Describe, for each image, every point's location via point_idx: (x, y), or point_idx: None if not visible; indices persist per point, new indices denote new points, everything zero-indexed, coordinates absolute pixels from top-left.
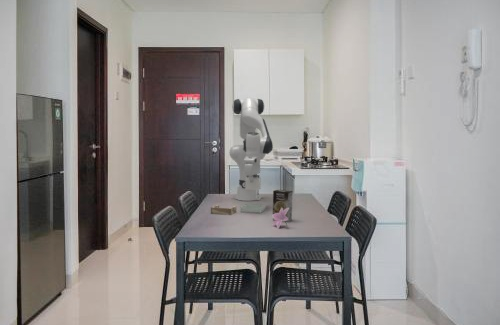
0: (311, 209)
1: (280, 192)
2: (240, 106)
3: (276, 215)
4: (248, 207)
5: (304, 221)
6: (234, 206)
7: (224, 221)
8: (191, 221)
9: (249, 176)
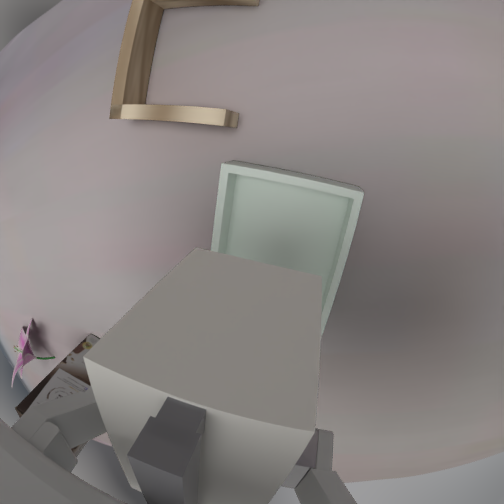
0: (342, 467)
1: None
2: None
3: (24, 347)
4: (213, 227)
5: None
6: (197, 116)
7: (22, 147)
8: (18, 35)
9: (27, 420)
